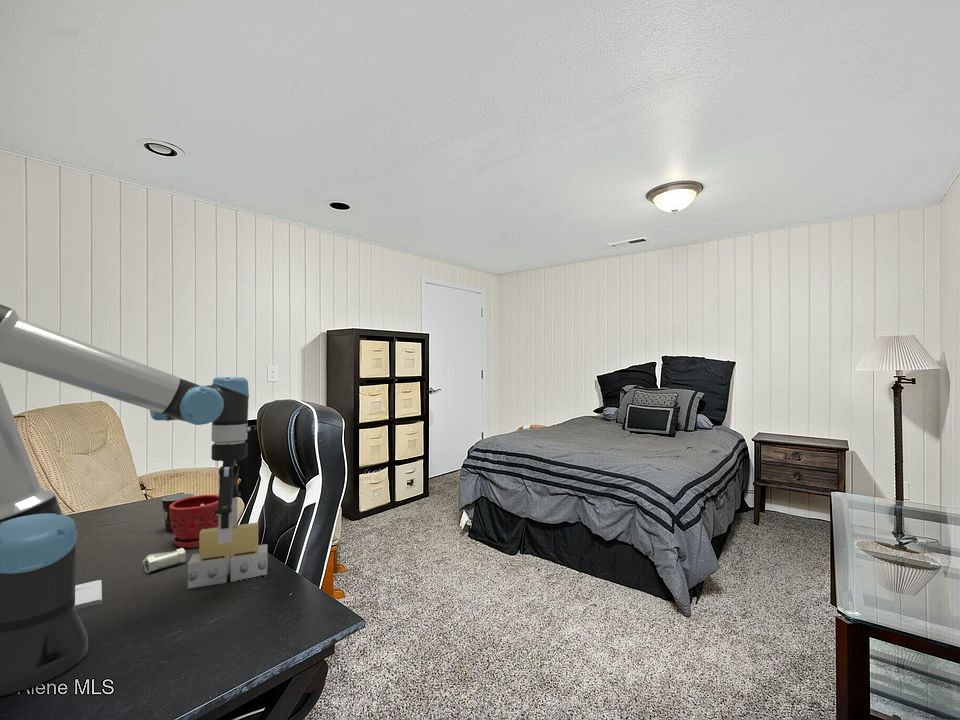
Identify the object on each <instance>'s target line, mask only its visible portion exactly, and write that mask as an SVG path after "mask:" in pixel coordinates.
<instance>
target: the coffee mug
mask: <svg viewBox="0 0 960 720" xmlns="http://www.w3.org/2000/svg"><path fill="white" fill-rule="evenodd" d="M193 496H196V494H195V493H190V492H189V493H178V494H170V495H167V496H164V497H162V499H161V501H162V511H163V516H164V517H163V518H164V524H165V532H166V533H167V534H174V532H173V530H172V527H171V522H170V515H169V506H170V505H171V504H172V503H174V502H176V501H178V500H181V499H184V498H188V497H193ZM193 507H194V506H193Z"/></svg>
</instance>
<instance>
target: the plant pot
mask: <svg viewBox="0 0 960 720" xmlns="http://www.w3.org/2000/svg"><path fill="white" fill-rule="evenodd" d="M218 500H219V494H201V495H195V496H193V497H188V498H184V499H181V500H178V501H176V502H174V503H172V504H171V505H170V506H169V515H170V522H171V527H172V530H173V532H174V533H173V534H174V536H175V537H174V538H173V543H174V544H175V545H176V546H178V547H180V548H189V549H190V548H197V547H199V533H200V531H201V529H210V528H218V514H215V510H217V509H218ZM193 506H194V507H193Z"/></svg>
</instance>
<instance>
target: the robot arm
mask: <svg viewBox="0 0 960 720" xmlns="http://www.w3.org/2000/svg"><path fill="white" fill-rule="evenodd" d="M0 363H1V364H3V365H7V366H10V367H13V368H17V369H20V370H22V371H25V372H29V373H32V374H36V375H39V376H42V377H45V378H49V379H51V380H55V381H58V382H61V383H64V384H67V385H69V386H73V387H77V388H80V389H83V390H86V391H90V392H92V393H96V394H100V395H101V396H106V397H108V398H111V399H115V400H118V401H121V402H123V403H127V404H131V405H133V406H137V407H140V408H143V409H146V410H149V413H150V417H151V419H152V420H153V421H167V422H169V421H182V422H187V423H188V424H191V425H195V426H201V425H207V424H210V423H211V441H212V442H213V444H211V457H210V458H211V460H213V461H216V462H222V466H220V468H219V469H218V475H219V477H218V478H219V480H218V485H219V489H218V490H219V491H218V495H219V500H218V509H217V510H215V514H217V515H218V544H220V543H228V542H232V526H234V525H238V506H239V504H238V497H241V496H242V493H241V491H239V473H240V465H238V462H239V460H243V459H246V458H247V457H248V443H247V442H246V441H247V440H248V435H249V434H248V432H250V431H251V430H252V429H251V427H250V426H249V425H248V422H249V421H248V420H249V419H248V418H249V397H250V393H249V381H248V379H247V378H245V377H243V376H241V377H238V376H235V377H233V376H230V377H229V376H227V377H226V376H224V377H223V376H216V377H214V378H213V380H212V383H211V385H210V384H209V385H199V384H197V383H194V382H192V381H189V380H186V379H183V378H180V377H178V376H176V375H174V374H173V375H172V374H171V373H168V372H166V371H162V370H159V369H157V368H154V367H152V366H149V365H146V364H144V363H141V362H138V361H136V360H133V359H130V358H127V357H124V356H121V355H120V354H116V353H113V352H111V351H109V350H106V349H103V348H100V347H98V346H95V345H93V344H89V343H88V342H84V341H81V340H79V339H76V338H73V337H71V336H69V335H65V334H62V333H60V332H58V331H55V330H52V329H50V328H49V329H48V328H47V327H44V326H41V325H39V324H35V323H34V322H30V321H27V320H25V319H23V318H20V317H19V316H18V314H17V312H16V310H15V309H14V308H12V307H9V306H6V305H4V304H0ZM38 480H39V479H38V477H37V475H36V472H35V469H34V466H33V464H32V462H31V459H30V456H29V454H28V451H27V449H26V446H25V443H24V441H23V438H22V436H21V432H20V430H19V428H18V425H17V423H16V420H15V417H14V414H13V413H12V409H11V406H10V404H9V401H8V399H7V397H6V394H5V391H4V389H3V386H2V384H1V382H0V697H3V696H7V695H9V694H10V695H11V694H15V693H18V692H21V691H25V690H27V689H30V688H34V687H35V686H38V685H41V684H43V683H46V682H48V681H50V680H52V679H54V678H56V677H58V676H60V675H62V674H64V673H65V672H67V671H69V670H71V669H72V668H73V667H75V666H76V665H77V664H78V663H79V662H81V661H82V659H84V657H86V655H87V653H88V650H89V636H88V632H87V630H86V629H85V626H84V624H83V621H82V619H81V617H80V615H79V613H78V610H76V608H75V585H76V567H77V565H76V559H77V558H76V557H77V555H76V553H77V552H76V551H77V550H76V549H77V547H76V546H77V544H76V543H77V541H78V531H77V528H76V522H75V520H74V519H73V518H72V517H71V516H69V515H66V514H63V512H62V510H61V507H60V505H59V504H60V503H59V501H58V499H57V496H56V494H55V492H54V491H50V490H48V489H43V488H42V487H41V485H40V483H39V481H38Z"/></svg>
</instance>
